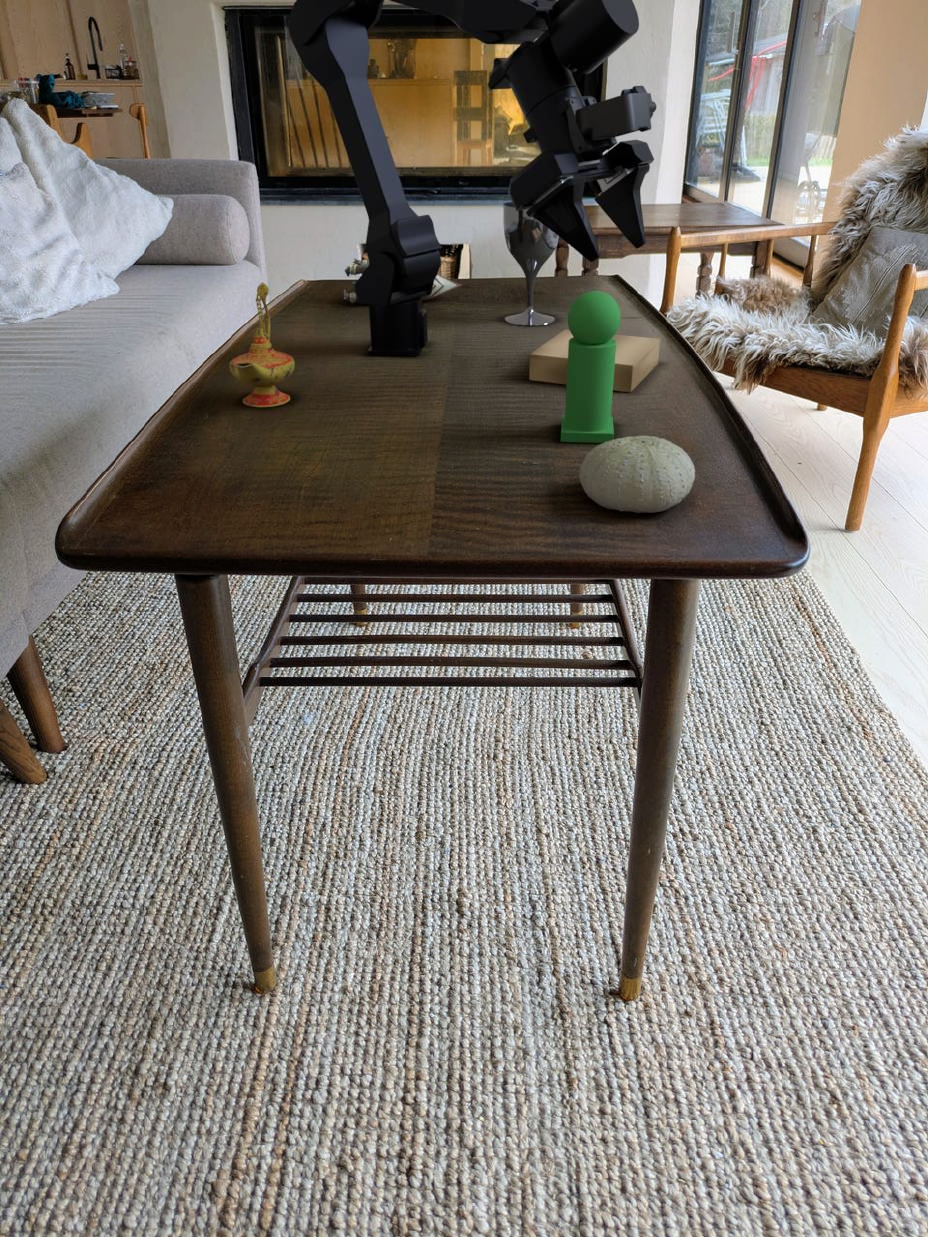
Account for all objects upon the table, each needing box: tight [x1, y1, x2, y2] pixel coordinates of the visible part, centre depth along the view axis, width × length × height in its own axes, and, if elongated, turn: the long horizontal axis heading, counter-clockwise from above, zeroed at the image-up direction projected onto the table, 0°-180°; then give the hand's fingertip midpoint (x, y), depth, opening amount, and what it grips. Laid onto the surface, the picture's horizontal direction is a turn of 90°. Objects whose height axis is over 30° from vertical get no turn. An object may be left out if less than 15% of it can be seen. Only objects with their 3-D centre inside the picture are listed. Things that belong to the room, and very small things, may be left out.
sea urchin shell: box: [578, 435, 696, 514], centre depth 74 cm, size 9×8×8 cm
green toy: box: [560, 290, 621, 444], centre depth 85 cm, size 5×5×13 cm
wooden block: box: [528, 329, 661, 393], centre depth 105 cm, size 12×12×3 cm
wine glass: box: [502, 201, 560, 327], centre depth 124 cm, size 8×8×15 cm
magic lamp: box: [229, 282, 296, 408], centre depth 94 cm, size 7×18×11 cm, turn 2°
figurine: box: [343, 258, 462, 304], centre depth 138 cm, size 20×6×17 cm
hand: (619, 252), depth 91 cm, fingers open, 9 cm apart
